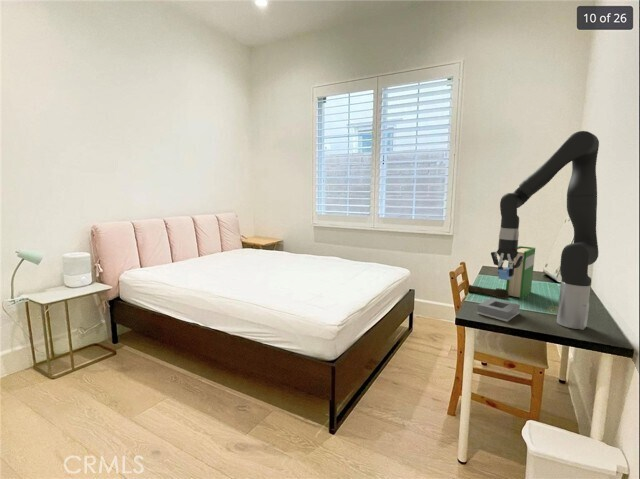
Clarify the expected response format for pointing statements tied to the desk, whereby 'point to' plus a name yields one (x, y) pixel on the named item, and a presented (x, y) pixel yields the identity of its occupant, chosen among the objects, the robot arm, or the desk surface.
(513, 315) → the plate
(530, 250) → the hardback book
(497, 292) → the hand tool
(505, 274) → the block
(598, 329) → the desk surface
